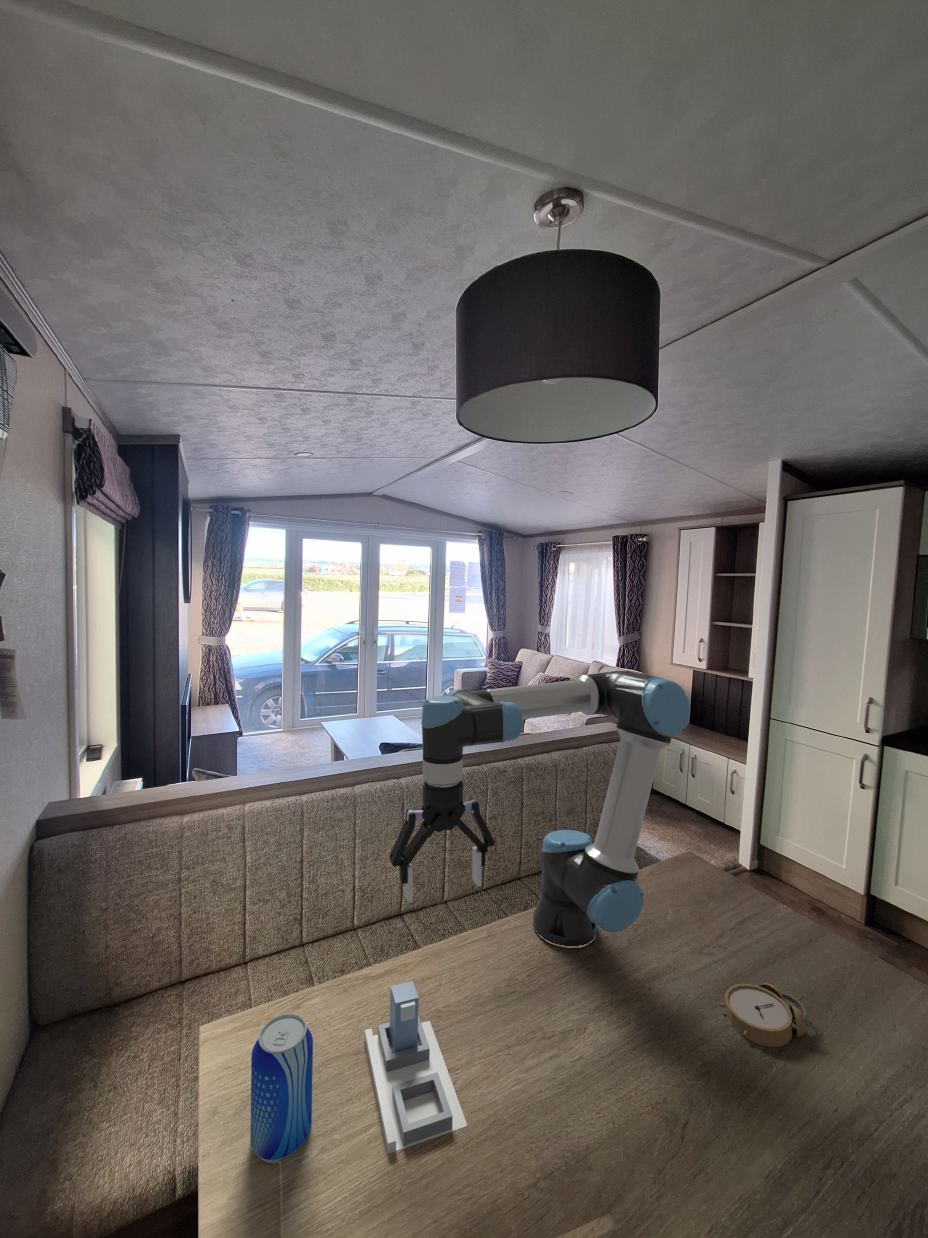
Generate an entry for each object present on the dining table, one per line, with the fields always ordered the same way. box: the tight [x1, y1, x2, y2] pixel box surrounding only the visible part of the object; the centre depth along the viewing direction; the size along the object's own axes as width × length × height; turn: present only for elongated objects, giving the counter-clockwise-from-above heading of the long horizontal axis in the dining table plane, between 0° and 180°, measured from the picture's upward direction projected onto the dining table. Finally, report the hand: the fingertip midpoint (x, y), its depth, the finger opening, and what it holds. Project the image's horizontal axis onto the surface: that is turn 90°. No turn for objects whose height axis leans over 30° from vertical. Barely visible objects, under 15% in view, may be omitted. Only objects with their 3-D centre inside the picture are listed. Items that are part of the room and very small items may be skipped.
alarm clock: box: [718, 982, 809, 1048], centre depth 98 cm, size 11×5×15 cm
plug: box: [389, 980, 420, 1054], centre depth 89 cm, size 4×5×10 cm
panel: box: [364, 1014, 468, 1155], centre depth 84 cm, size 12×20×3 cm, turn 20°
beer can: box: [249, 1013, 314, 1164], centre depth 75 cm, size 8×8×16 cm
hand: (443, 890), depth 97 cm, fingers open, 13 cm apart
